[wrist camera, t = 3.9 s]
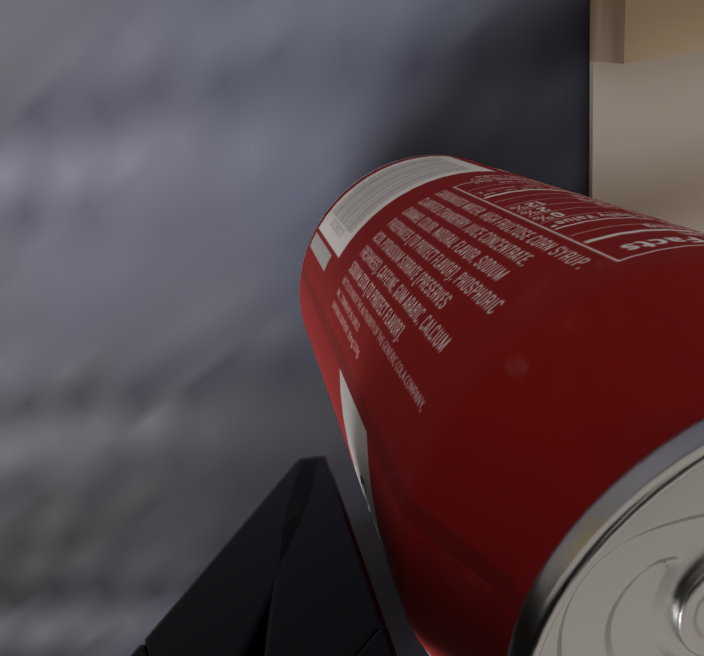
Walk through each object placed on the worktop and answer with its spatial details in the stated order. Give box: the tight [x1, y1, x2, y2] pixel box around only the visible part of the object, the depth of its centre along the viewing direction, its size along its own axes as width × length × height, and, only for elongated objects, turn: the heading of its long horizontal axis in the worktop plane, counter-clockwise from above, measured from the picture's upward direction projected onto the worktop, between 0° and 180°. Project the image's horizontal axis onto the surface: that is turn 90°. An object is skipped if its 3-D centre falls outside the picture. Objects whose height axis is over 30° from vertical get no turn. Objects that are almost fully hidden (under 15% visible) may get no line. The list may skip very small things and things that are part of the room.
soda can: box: [299, 154, 704, 656], centre depth 11 cm, size 7×7×12 cm
